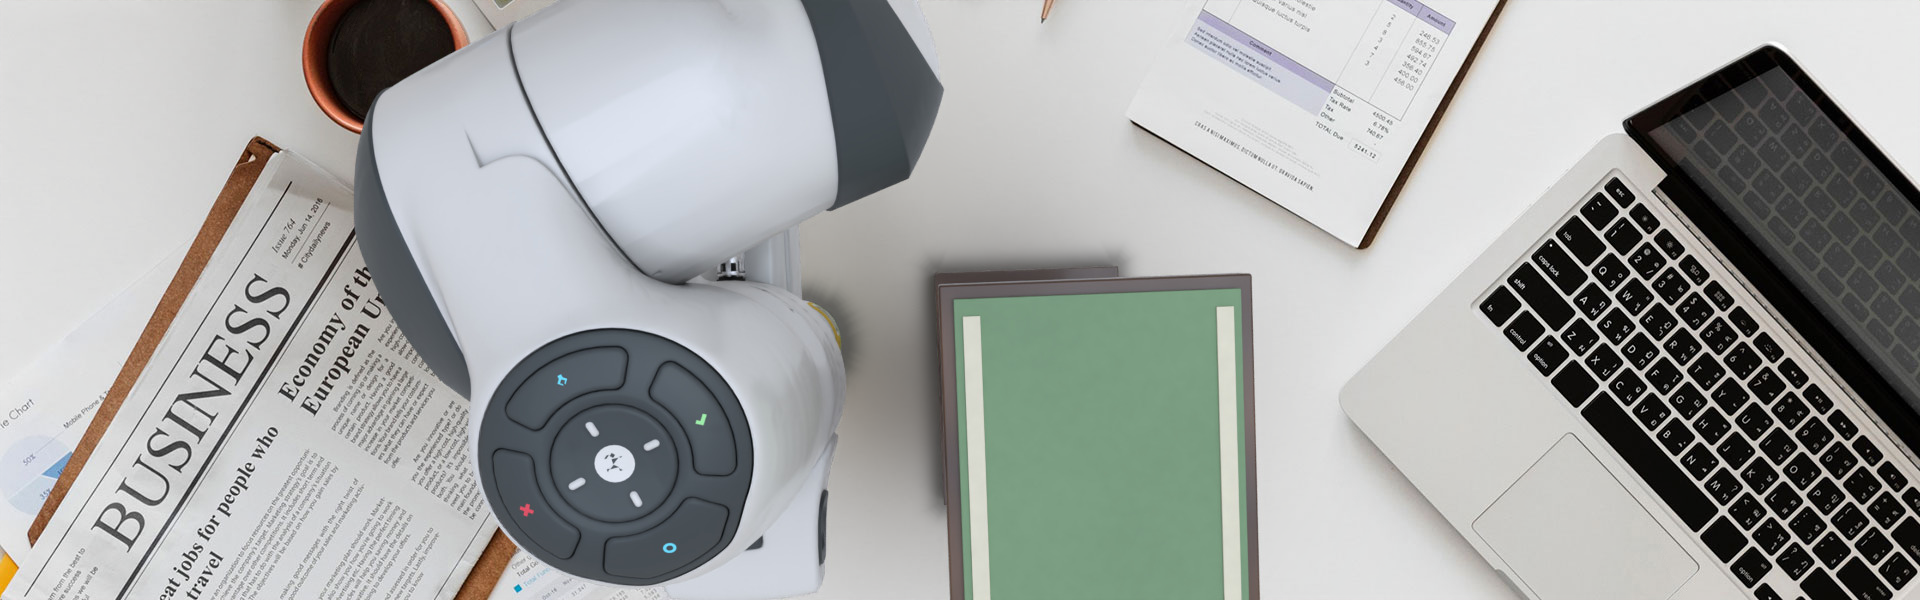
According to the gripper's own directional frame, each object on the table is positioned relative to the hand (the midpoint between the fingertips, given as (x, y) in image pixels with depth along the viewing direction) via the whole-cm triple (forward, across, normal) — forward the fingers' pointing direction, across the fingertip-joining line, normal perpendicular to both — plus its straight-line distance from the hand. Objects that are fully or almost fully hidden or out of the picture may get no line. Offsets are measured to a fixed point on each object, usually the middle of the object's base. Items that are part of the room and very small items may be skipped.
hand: (783, 358), depth 56 cm
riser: (+8, +3, +14) cm, 16 cm away
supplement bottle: (+8, 0, 0) cm, 8 cm away
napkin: (-20, +3, +14) cm, 24 cm away
